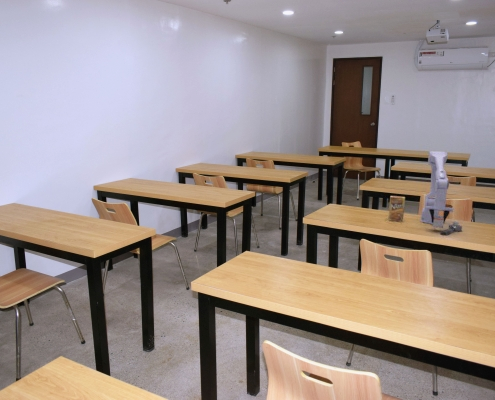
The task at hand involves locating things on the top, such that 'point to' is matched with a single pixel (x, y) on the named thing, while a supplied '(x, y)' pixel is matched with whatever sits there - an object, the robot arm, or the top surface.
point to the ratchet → (452, 229)
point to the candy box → (396, 208)
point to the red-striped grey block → (438, 221)
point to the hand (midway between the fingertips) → (437, 222)
